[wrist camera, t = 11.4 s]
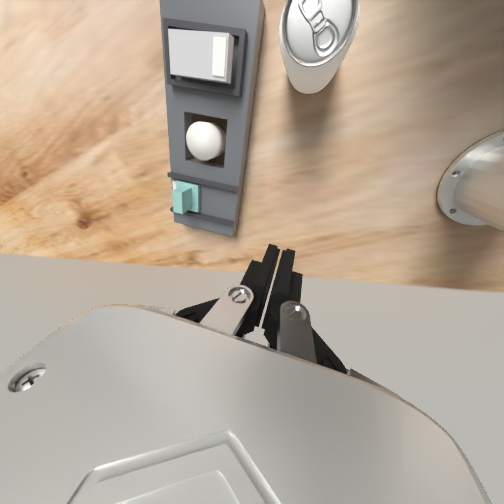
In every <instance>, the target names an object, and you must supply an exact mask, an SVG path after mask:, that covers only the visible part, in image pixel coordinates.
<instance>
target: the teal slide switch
mask: <svg viewBox="0 0 504 504" xmlns="http://www.w3.org/2000/svg"><path fill="white" fill-rule="evenodd" d="M172 195H173V210H174V212H176V213H180V214H184V213H185V212H186V211H188V210H189V211H194V212H199V211H200V184H195V183H191V182H187V181H182V180H176V189H174V190H172Z"/></svg>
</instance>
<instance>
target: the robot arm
mask: <svg viewBox="0 0 504 504" xmlns="http://www.w3.org/2000/svg"><path fill="white" fill-rule="evenodd" d="M453 172H454V173H453ZM452 173H453V174H452ZM437 200H438V204H439V207H440V209H441V210H442V212H443V213H444V214H445V215H446V216H447V217H449V218H450V219H452V220H454V221H456V222H458V223H461V224H465V225H473V226H482V225H490V226H492V227H494V228H496V229H498V230H500V231H502V232H504V131H501V132H498V133H495V134H493V135H491V136H488V137H486V138H484V139H482V140H480V141H479V142H477V143H476V144H474V145H473V146H471V147H469V148H468V149H467V150H466V151H465V152H463V153H462V154H461V155H460V156H459V157H458V158H457V159H456V160H455V161H454V162H453V163H452V164H451V165H450V167H449V168H448V169H447V171H446V172H445V174H444V175H443V178H442V180H441V182H440V184H439V188H438V194H437ZM277 247H278V246H275V245H272V244H269V246H268V248H267V251H266V253H265V256H264V258H263V261H262V263H261V262H258V261H254V260H252V261H251V263H250V265H249V267H248V269H247V271H246V273H245V275H244V277H243V280H242V281H241V283H240V285H233V286H231V287H229V288H228V289H227V290H226V291H225V293H224V294H223V295H222V296H221V297H220V298H218V299H215V300H212V301H208V302H205V303H201V304H198V305H195V306H191V307H188V308H185V309H183V310H180V311H179V312H178V311H175V309H171V308H163V307H154V306H145V305H127V304H126V305H125V304H121V305H120V304H119V305H118V304H115V305H104V306H99V307H95V308H92V309H90V310H88V311H86V312H84V313H82V314H80V315H78V316H77V317H75V318H74V319H72V320H71V321H69V322H68V323H66V324H65V325H63V326H62V327H60V328H59V329H58V330H56V331H55V332H53V333H52V334H51V335H49V336H48V337H47V338H46V339H44V340H43V341H41V342H40V343H39V344H38V345H36V346H35V347H34V348H32V349H31V350H30V351H28V352H27V353H26V354H25V355H23V356H22V357H21V358H19V359H18V360H17V361H16V362H14V364H12V365H11V366H9V367H8V368H7V369H6V370H5V371H3V372H2V373H1V374H0V504H492V503H491V501H490V499H489V497H488V495H487V493H486V491H485V489H484V487H483V485H482V483H481V482H480V480H479V478H478V477H477V474H476V473H475V471H474V469H473V467H472V466H471V464H470V462H469V460H468V459H467V457H466V456H465V454H464V453H463V451H462V450H461V448H460V447H459V445H458V444H457V443H456V441H455V440H454V439H453V438H452V437H451V436H450V434H449V433H448V432H447V431H446V430H445V429H444V428H443V427H441V426H440V425H439V424H438V423H437V422H435V421H434V420H433V419H432V418H431V417H429V416H428V415H427V414H425V413H424V412H422V411H421V410H420V409H418V408H417V407H415V406H414V405H412V404H411V403H409V402H407V401H405V400H404V399H402V398H401V397H400V396H398V395H397V394H396V393H394V392H392V391H390V390H389V389H387V388H385V387H383V386H381V385H380V384H378V383H376V382H374V381H372V380H371V379H369V378H367V377H365V376H363V375H362V374H360V373H358V372H356V371H354V370H353V369H350V370H348V369H346V368H345V366H344V365H343V363H342V362H341V361H340V359H339V358H338V357H337V356H336V355H335V354H334V352H333V351H332V350H331V349H330V348H329V347H328V346H327V344H326V343H325V342H324V341H323V340H322V339H321V337H320V336H319V335H318V334H317V333H316V332H315V330H314V329H313V328H312V327H311V322H310V315H309V312H308V310H307V309H306V307H304V306H303V305H302V304H300V298H301V287H302V286H301V285H302V274H300V273H297V272H293V271H292V269H293V263H294V256H295V251H294V250H290V249H287V250H286V251H285V250H283V252H282V255H281V259H280V262H279V266H278V269H277V273H276V277H275V280H274V284H273V287H272V291H271V295H270V298H269V302H268V306H267V310H266V313H265V317H264V321H263V324H262V328H263V329H265V332H264V336H265V337H266V339H267V340H268V342H269V343H268V347H266V346H263V345H260V344H258V343H255V342H252V341H249V340H246V339H244V338H245V335H246V334H247V333H249V332H252V331H254V327H255V326H257V327H259V324H260V320H261V316H262V313H263V309H264V306H265V302H266V299H267V295H268V292H269V289H270V285H271V281H272V278H273V274H274V271H275V267H276V263H277V259H278V256H279V252H280V249H278V248H277Z"/></svg>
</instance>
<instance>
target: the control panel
mask: <svg viewBox="0 0 504 504" xmlns="http://www.w3.org/2000/svg"><path fill="white" fill-rule="evenodd" d="M160 13H161V28H162V43H163V59H164V74H165V89H166V104H167V119H168V134H169V149H170V164H171V172H169V173H168V177H171V179H172V190H174V189H176V180H182V181H187V182H191V183H195V184H200V211H199V212H194V211H189V210H188V211H186V212H185V213H184V214H180V213H176V212H174V210H173V207H171V208H170V211H172V212H174V222H177V223H181V224H185V225H189V226H193V227H197V228H201V229H205V230H209V231H213V232H217V233H221V234H225V235H229V236H233V235H234V234H235V232H236V231H237V227H238V219H239V211H240V203H241V195H242V187H243V179H244V172H245V164H246V156H247V148H248V140H249V132H250V124H251V117H252V109H253V101H254V93H255V85H256V77H257V69H258V62H259V54H260V46H261V38H262V30H263V22H264V14H265V7H264V4H263V1H262V0H160ZM168 29H179V30H193V31H207V32H222V33H229V34H231V35H232V36H233V37H234V45H233V59H232V72H231V84H228V83H221V82H214V81H206V80H199V79H192V78H185V77H178V76H175V75H172V74H170V55H169V37H168ZM194 113H195V114H201V115H206V116H211V117H217V118H222V119H227V133H226V147H225V161H224V165H223V164H218V163H213V162H209V161H204V160H199V159H195V158H194V155H193V154H192V153H191V152H190V150H189V148H188V146H187V141H186V135H187V131H188V129H189V127H190V126H191V125H192V124H193V123H194Z"/></svg>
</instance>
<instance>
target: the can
mask: <svg viewBox="0 0 504 504" xmlns="http://www.w3.org/2000/svg"><path fill="white" fill-rule="evenodd" d="M358 19H359V0H286V3H285V6H284V9H283V12H282V15H281V20H280V27H279V43H280V49H281V54H282V58H283V61H284V65H285V68H286V72H287V75H288V78H289V80H290V82H291V84H292V86H293V87H294V88H295V89H296V90H297V91H299V92H301V93H304V94H312V93H316V92H318V91H320V90H322V89H323V88H324V87H325V86H326V85H327V84H328V83H329V82H330V81H331V79H332V78H333V76H334V75H335V73H336V72H337V70H338V68H339V66H340V64H341V63H342V61H343V59H344V57H345V55H346V54H347V52H348V50H349V48H350V46H351V44H352V41H353V39H354V36H355V33H356V29H357V25H358Z"/></svg>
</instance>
